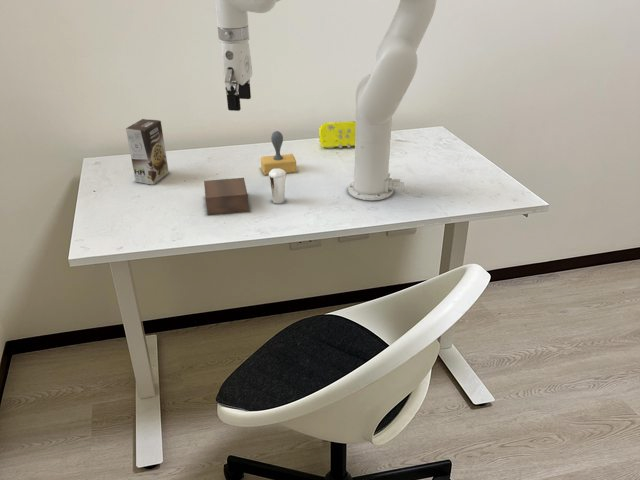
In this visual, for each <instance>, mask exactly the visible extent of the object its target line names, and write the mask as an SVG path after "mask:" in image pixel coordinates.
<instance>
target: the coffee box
mask: <svg viewBox="0 0 640 480" xmlns="http://www.w3.org/2000/svg"><path fill="white" fill-rule="evenodd" d="M125 133H126V137H127V142H128V148H129V153H130V159H131V164H132V169H133V176H134V181H135V183H139V184H147V185H155V184H156V183H158V182H159V181H160V180H162V179H164V177H166V176H167V175H169V174H170V171H169V165H168V158H167V152H166V146H165V138H164V134H163V133H164V132H163V125H162V121H161V120H159V119H147V118H142V119H139V120H138V121H136V122H135V123H133V124H131V125H129V126H128V127H125Z"/></svg>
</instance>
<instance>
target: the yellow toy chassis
mask: <svg viewBox="0 0 640 480" xmlns="http://www.w3.org/2000/svg"><path fill="white" fill-rule="evenodd" d="M355 129H356V120H355V121H335V122H334V121H333V122H324V123H323V124H321V125H320V126H319V127H318V136H319V137H318V139H319V140H318V142H319V143H320V147H321V148H326V149H327V150H328V149H329V150H330V149H331V150H332V149H335V147H338V148H339V149H342V148H343V147H347V149H348V148H349V149H350V148H351V147H353V146H354V147H355Z"/></svg>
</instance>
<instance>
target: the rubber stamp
mask: <svg viewBox="0 0 640 480" xmlns="http://www.w3.org/2000/svg"><path fill="white" fill-rule="evenodd" d="M270 137H271V143H272V146H273V148H274V151H275V155H266V156H265V155H264V156H261V157H260V168H261V171H262V173H263V176H269V172H270V171H271V170H272V169H278V168H279V169H282V170H284V171H285V172H286V171H287V172H286V174H288V173H289V174H290V173H297V172H298V171H297V159H296V157H295V156H294V154H292V153H287V154H281V149H282V146H283V141H284V136H283V133H282V132H280V131H278V130H275V131H274V132H272V134H271V136H270Z"/></svg>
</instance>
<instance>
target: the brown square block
mask: <svg viewBox="0 0 640 480" xmlns="http://www.w3.org/2000/svg"><path fill="white" fill-rule="evenodd" d="M203 183H204V184H203V185H204V198H205V205H206V212H207V213H206V214H207V216H211V215H222V214H224V215H225V214H234V213H246V212H250V207H249V205H250V204H249V194H248V190H247V185H246V181H245V178H244V177H235V178H234V177H233V178H222V179H210V180H208V179H207V180H203Z"/></svg>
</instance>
